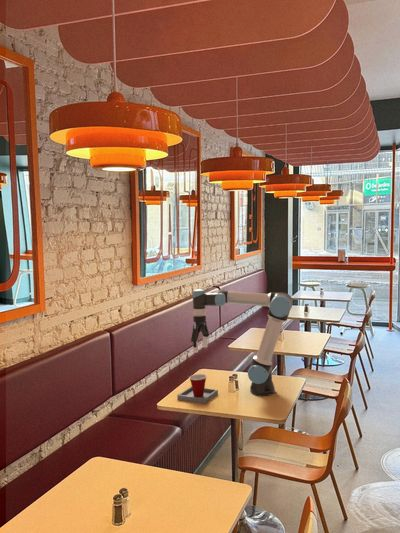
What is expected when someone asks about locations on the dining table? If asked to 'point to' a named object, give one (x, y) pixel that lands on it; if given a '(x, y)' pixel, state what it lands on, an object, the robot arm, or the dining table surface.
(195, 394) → the plastic cup
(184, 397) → the tray
